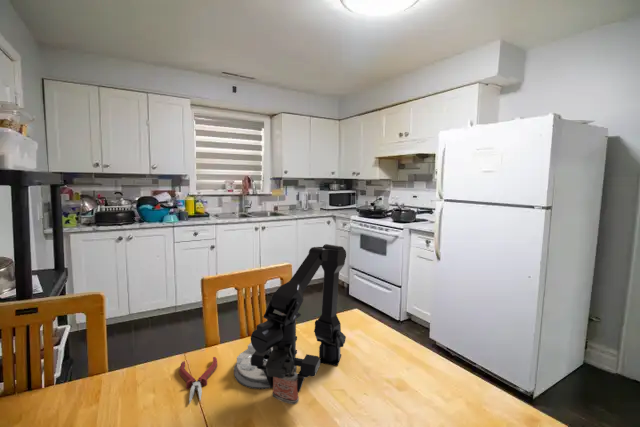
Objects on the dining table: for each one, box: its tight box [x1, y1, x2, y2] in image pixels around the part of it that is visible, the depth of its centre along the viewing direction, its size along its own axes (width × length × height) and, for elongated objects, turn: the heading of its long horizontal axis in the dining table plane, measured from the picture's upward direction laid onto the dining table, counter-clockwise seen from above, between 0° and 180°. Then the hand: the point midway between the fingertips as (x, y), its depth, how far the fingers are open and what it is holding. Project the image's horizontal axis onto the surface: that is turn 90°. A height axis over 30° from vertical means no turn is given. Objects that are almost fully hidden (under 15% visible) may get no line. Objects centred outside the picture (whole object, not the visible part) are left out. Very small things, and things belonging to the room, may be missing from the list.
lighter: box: [272, 367, 300, 405], centre depth 89 cm, size 8×3×10 cm, turn 65°
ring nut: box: [236, 342, 273, 382], centre depth 102 cm, size 18×18×4 cm
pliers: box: [178, 356, 218, 405], centre depth 96 cm, size 12×20×3 cm, turn 17°
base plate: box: [233, 362, 298, 390], centre depth 103 cm, size 20×20×1 cm
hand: (285, 389), depth 89 cm, fingers closed on lighter, 8 cm apart
